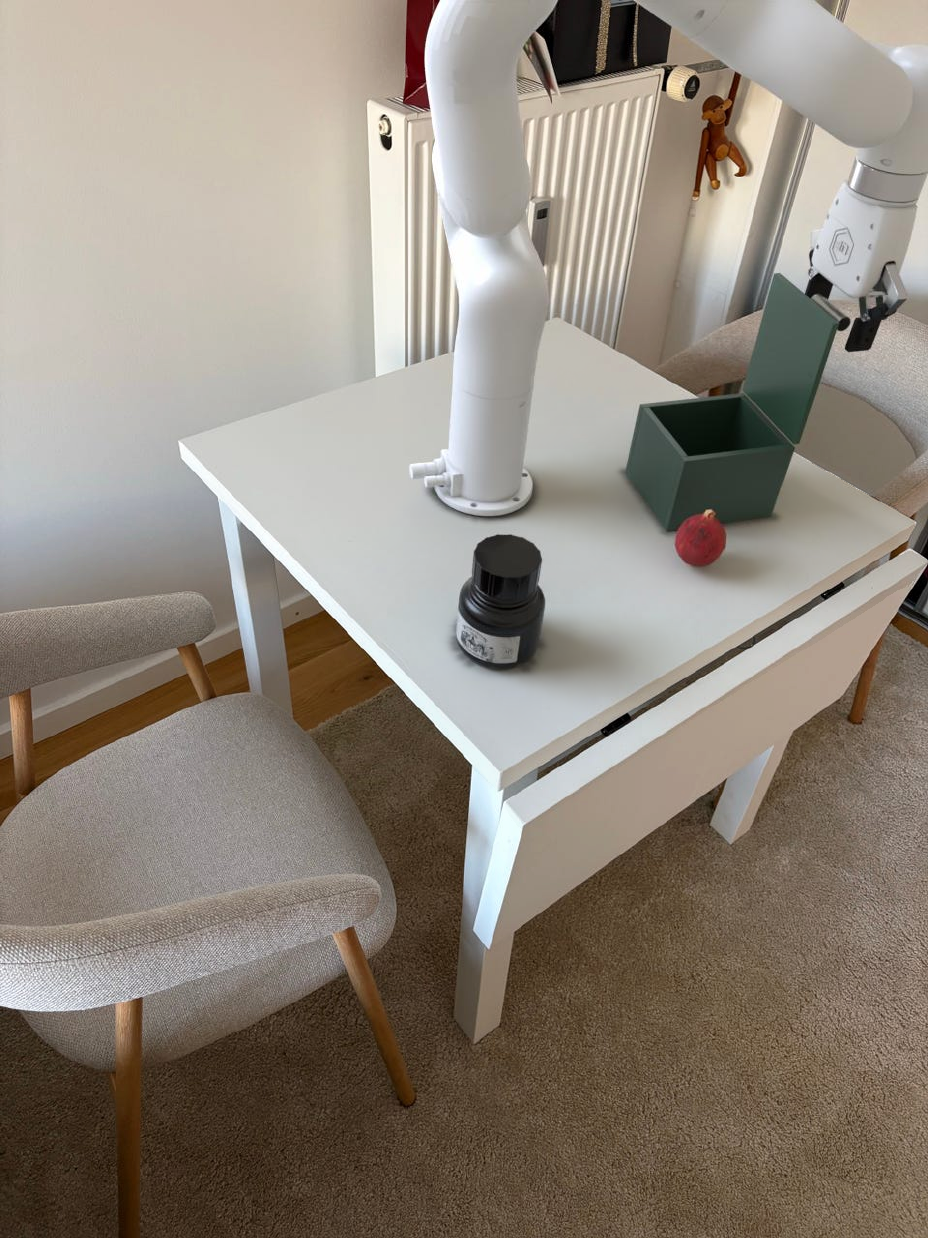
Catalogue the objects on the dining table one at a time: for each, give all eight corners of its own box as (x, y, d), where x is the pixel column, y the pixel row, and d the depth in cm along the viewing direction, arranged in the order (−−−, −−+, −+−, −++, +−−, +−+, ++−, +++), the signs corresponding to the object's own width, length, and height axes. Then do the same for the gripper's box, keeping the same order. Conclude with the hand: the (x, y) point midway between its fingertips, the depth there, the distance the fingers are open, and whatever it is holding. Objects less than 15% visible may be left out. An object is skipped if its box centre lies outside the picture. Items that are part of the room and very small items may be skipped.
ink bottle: (436, 636, 106) (441, 549, 98) (493, 600, 110) (503, 514, 102) (501, 686, 101) (512, 600, 93) (558, 646, 106) (574, 561, 98)
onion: (706, 587, 115) (723, 533, 109) (661, 568, 117) (675, 514, 111) (724, 561, 118) (742, 508, 113) (680, 543, 120) (695, 490, 115)
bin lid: (833, 323, 107) (874, 319, 108) (773, 273, 116) (812, 269, 117) (793, 444, 118) (831, 439, 119) (742, 389, 127) (777, 385, 128)
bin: (666, 531, 122) (684, 461, 115) (624, 472, 131) (639, 403, 123) (771, 516, 126) (795, 447, 118) (723, 460, 134) (743, 392, 127)
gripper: (812, 152, 109) (769, 299, 121) (904, 214, 98) (847, 369, 109) (869, 150, 111) (821, 295, 123) (967, 210, 100) (903, 363, 111)
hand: (833, 329), depth 116 cm, fingers open, 9 cm apart
